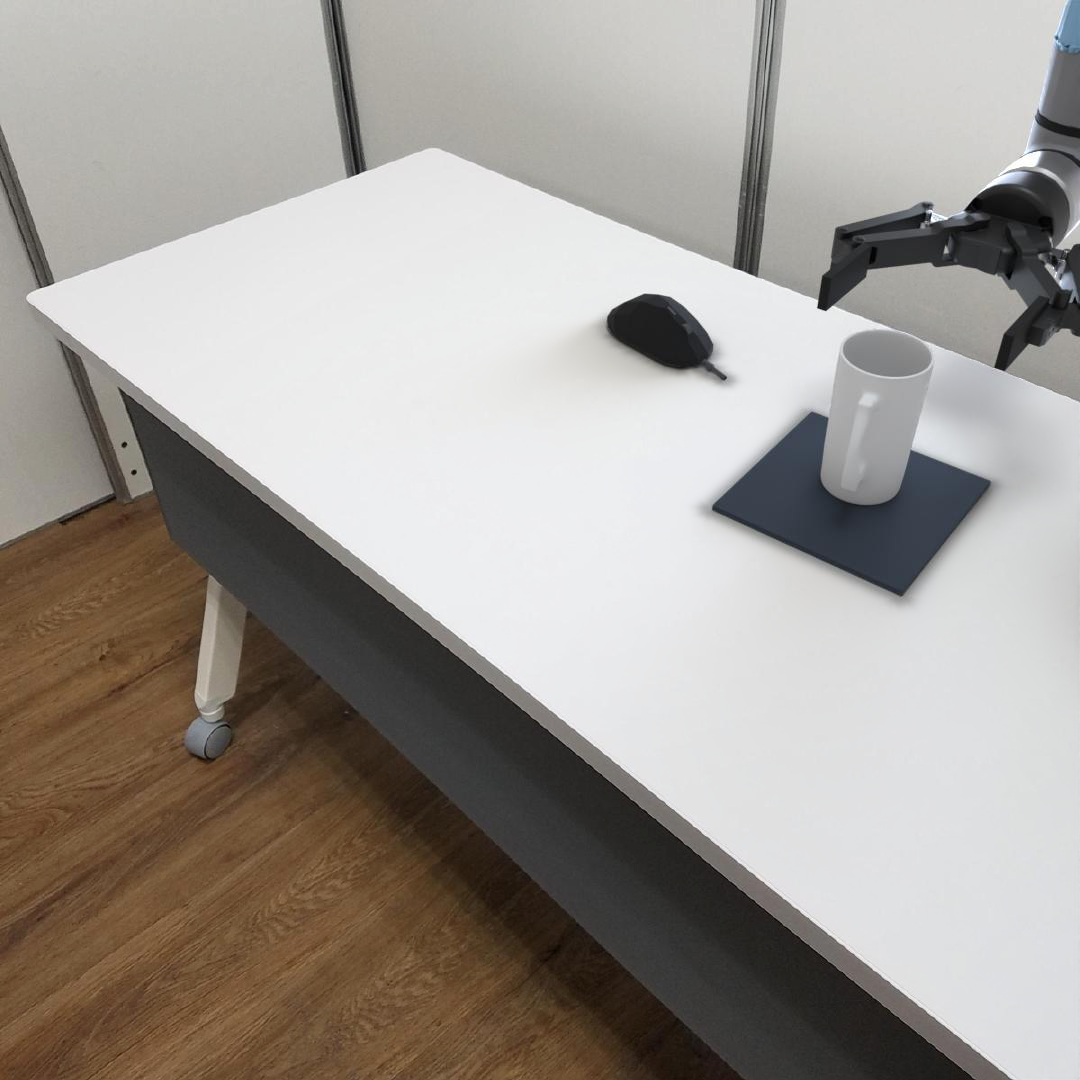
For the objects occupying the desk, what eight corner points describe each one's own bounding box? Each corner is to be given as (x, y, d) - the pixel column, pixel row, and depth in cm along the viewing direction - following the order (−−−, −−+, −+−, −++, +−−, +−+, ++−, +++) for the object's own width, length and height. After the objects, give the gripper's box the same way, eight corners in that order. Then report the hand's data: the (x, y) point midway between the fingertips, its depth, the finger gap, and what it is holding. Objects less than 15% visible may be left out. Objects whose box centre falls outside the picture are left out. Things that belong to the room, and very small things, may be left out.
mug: (830, 447, 94) (854, 320, 86) (912, 468, 92) (944, 340, 84) (793, 518, 87) (814, 387, 79) (879, 543, 85) (911, 411, 77)
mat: (989, 485, 91) (991, 480, 90) (901, 596, 81) (902, 591, 81) (810, 415, 98) (811, 410, 98) (711, 510, 89) (712, 505, 89)
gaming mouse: (700, 392, 101) (703, 354, 99) (593, 326, 110) (594, 289, 108) (750, 367, 104) (754, 329, 101) (642, 305, 113) (644, 268, 110)
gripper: (1167, 301, 89) (1072, 427, 77) (874, 217, 101) (751, 315, 89) (1202, 211, 84) (1106, 330, 72) (890, 134, 96) (762, 225, 84)
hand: (910, 322), depth 80 cm, fingers open, 13 cm apart
